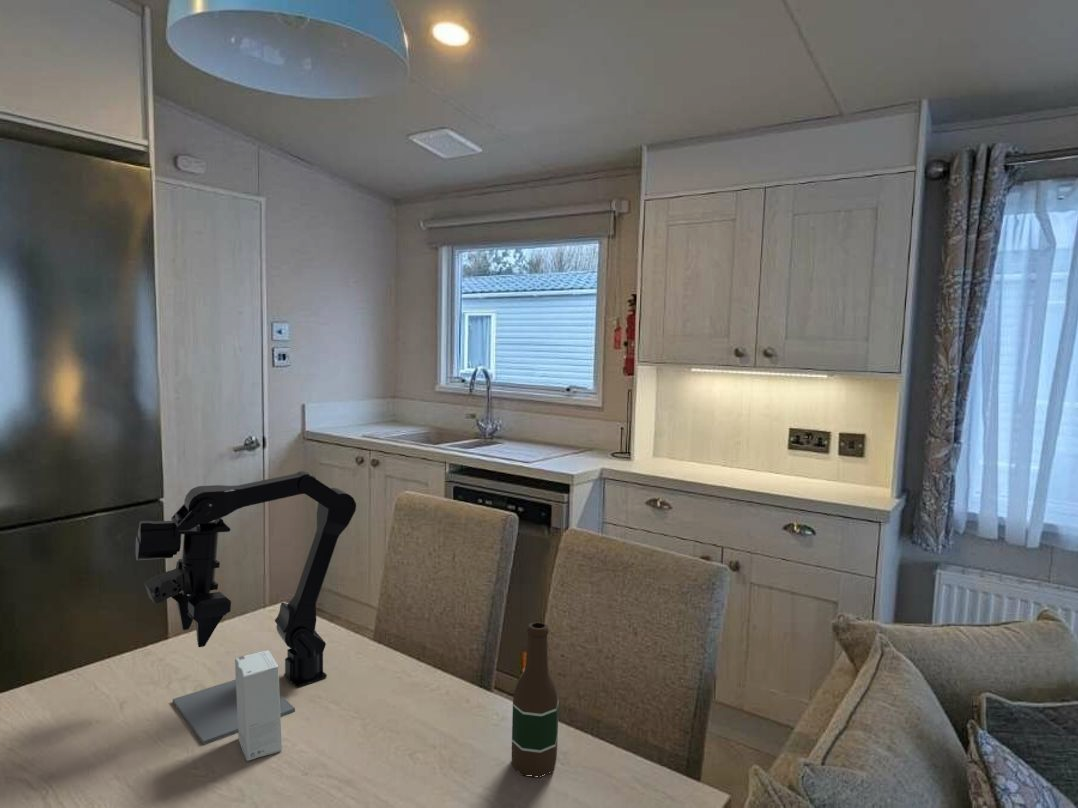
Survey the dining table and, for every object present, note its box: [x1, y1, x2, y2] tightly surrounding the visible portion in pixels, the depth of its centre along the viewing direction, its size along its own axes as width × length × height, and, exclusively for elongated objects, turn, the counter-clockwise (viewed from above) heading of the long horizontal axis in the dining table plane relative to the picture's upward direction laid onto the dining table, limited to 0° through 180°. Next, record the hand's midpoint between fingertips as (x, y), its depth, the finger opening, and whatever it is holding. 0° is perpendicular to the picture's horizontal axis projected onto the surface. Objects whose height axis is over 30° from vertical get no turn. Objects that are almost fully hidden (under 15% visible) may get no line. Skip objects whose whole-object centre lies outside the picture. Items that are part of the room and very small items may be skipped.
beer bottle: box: [511, 621, 560, 778], centre depth 111 cm, size 8×8×24 cm
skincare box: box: [234, 649, 283, 762], centre depth 114 cm, size 8×6×15 cm
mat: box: [172, 678, 296, 745], centre depth 127 cm, size 16×18×1 cm
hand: (193, 637), depth 125 cm, fingers open, 9 cm apart
